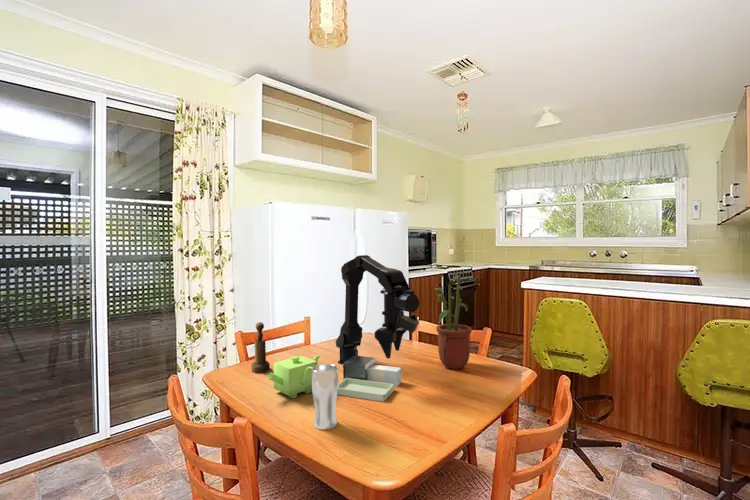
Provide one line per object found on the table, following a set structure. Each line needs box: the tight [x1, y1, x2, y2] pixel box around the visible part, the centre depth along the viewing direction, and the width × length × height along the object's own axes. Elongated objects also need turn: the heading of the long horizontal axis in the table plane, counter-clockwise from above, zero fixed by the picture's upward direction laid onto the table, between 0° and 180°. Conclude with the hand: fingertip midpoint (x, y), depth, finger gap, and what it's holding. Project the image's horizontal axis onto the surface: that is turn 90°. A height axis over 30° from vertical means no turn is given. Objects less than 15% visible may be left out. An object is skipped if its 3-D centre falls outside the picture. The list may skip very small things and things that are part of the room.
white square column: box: [367, 364, 402, 388], centre depth 129 cm, size 14×4×5 cm, turn 68°
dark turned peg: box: [251, 321, 271, 374], centre depth 143 cm, size 7×6×18 cm
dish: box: [337, 378, 395, 403], centre depth 121 cm, size 17×9×2 cm, turn 68°
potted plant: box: [434, 274, 473, 370], centre depth 145 cm, size 17×16×35 cm
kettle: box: [267, 353, 323, 399], centre depth 122 cm, size 15×14×11 cm
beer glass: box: [311, 363, 339, 431], centre depth 100 cm, size 7×7×15 cm
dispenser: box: [342, 355, 377, 381], centre depth 132 cm, size 9×9×7 cm
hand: (393, 354), depth 128 cm, fingers open, 9 cm apart
